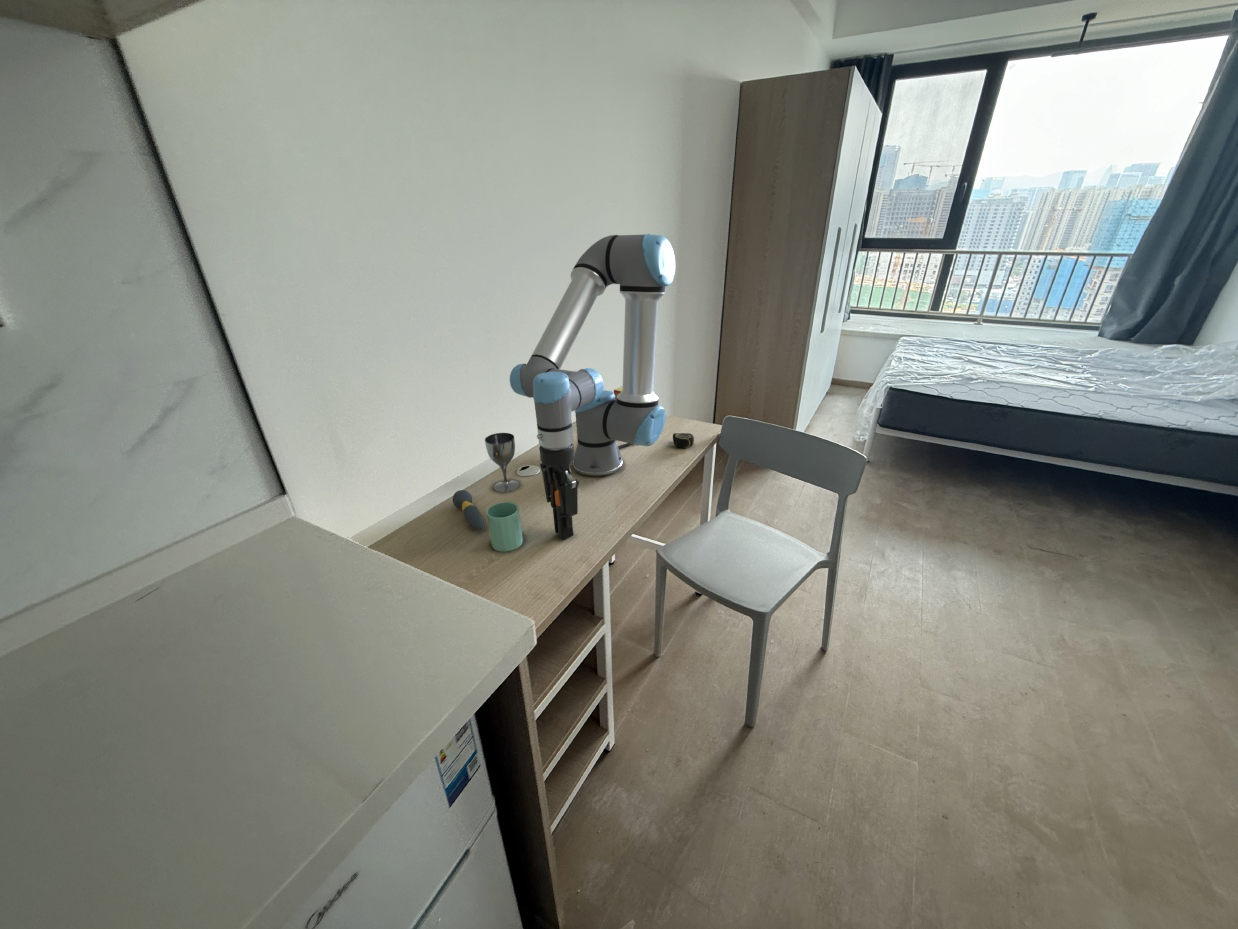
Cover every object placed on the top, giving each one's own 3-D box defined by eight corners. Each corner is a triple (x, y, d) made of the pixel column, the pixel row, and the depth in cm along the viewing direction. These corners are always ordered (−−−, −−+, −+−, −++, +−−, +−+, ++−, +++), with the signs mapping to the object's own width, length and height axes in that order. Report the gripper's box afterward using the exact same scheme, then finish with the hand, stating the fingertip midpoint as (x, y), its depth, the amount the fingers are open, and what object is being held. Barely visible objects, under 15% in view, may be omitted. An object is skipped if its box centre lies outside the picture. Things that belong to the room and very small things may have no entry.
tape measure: (692, 441, 165) (693, 431, 163) (694, 449, 159) (694, 439, 157) (672, 441, 165) (672, 431, 164) (673, 449, 159) (673, 439, 158)
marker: (566, 531, 118) (562, 488, 113) (572, 535, 116) (568, 492, 111) (556, 535, 117) (552, 491, 111) (562, 540, 115) (558, 496, 109)
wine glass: (525, 482, 141) (519, 435, 135) (509, 495, 135) (502, 445, 128) (503, 477, 144) (496, 431, 138) (486, 489, 138) (478, 441, 131)
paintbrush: (497, 528, 120) (494, 511, 118) (478, 535, 117) (474, 518, 115) (466, 497, 134) (463, 482, 132) (448, 503, 131) (445, 487, 129)
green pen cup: (514, 530, 119) (510, 498, 115) (528, 543, 114) (524, 511, 110) (486, 541, 115) (481, 508, 111) (499, 555, 110) (494, 522, 106)
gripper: (524, 437, 109) (534, 525, 120) (559, 460, 98) (567, 555, 109) (553, 429, 114) (560, 515, 124) (590, 450, 102) (595, 542, 113)
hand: (564, 533), depth 116 cm, fingers closed on marker, 2 cm apart
